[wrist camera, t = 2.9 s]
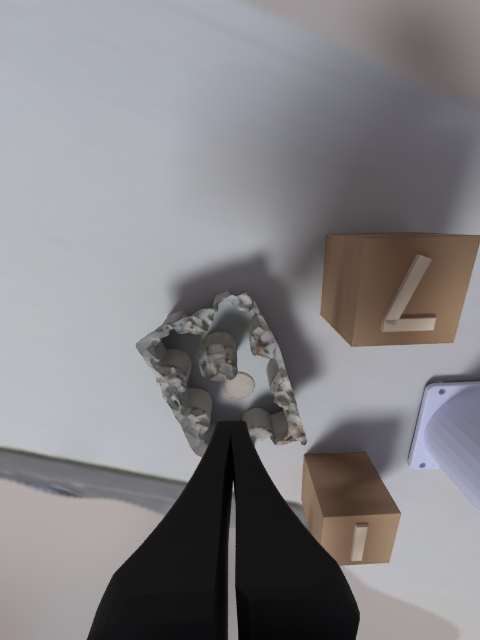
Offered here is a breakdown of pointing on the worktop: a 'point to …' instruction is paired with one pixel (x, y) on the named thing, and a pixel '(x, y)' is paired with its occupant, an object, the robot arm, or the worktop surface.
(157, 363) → the egg carton
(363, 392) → the worktop surface
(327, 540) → the numbered block one
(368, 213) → the worktop surface
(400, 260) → the numbered block seven
